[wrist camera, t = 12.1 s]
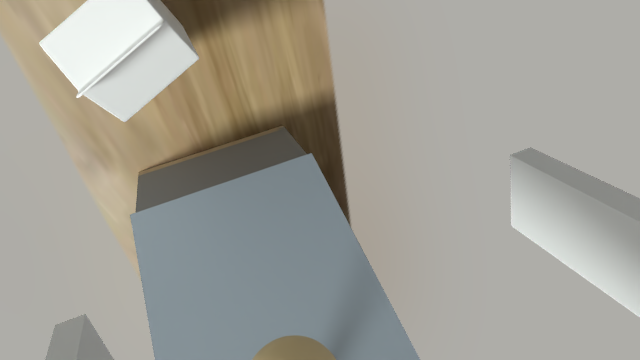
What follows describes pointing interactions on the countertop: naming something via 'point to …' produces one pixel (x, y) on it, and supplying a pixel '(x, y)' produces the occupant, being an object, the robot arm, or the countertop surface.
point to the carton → (215, 167)
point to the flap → (263, 274)
